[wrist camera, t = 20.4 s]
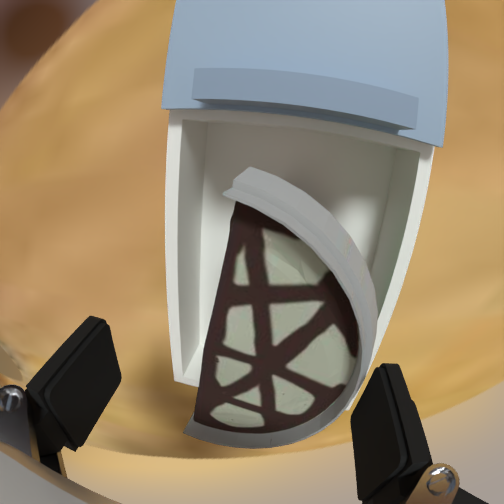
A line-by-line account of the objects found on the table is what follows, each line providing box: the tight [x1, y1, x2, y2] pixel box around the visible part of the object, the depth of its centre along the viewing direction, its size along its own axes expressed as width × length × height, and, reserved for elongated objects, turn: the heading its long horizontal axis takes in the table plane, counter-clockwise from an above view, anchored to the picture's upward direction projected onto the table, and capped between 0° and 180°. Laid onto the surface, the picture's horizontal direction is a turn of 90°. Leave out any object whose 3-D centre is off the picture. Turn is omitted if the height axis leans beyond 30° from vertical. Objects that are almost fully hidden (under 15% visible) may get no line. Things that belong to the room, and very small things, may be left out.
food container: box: [183, 167, 378, 449], centre depth 14 cm, size 12×6×10 cm, turn 167°
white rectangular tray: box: [165, 109, 434, 410], centre depth 17 cm, size 12×17×4 cm
